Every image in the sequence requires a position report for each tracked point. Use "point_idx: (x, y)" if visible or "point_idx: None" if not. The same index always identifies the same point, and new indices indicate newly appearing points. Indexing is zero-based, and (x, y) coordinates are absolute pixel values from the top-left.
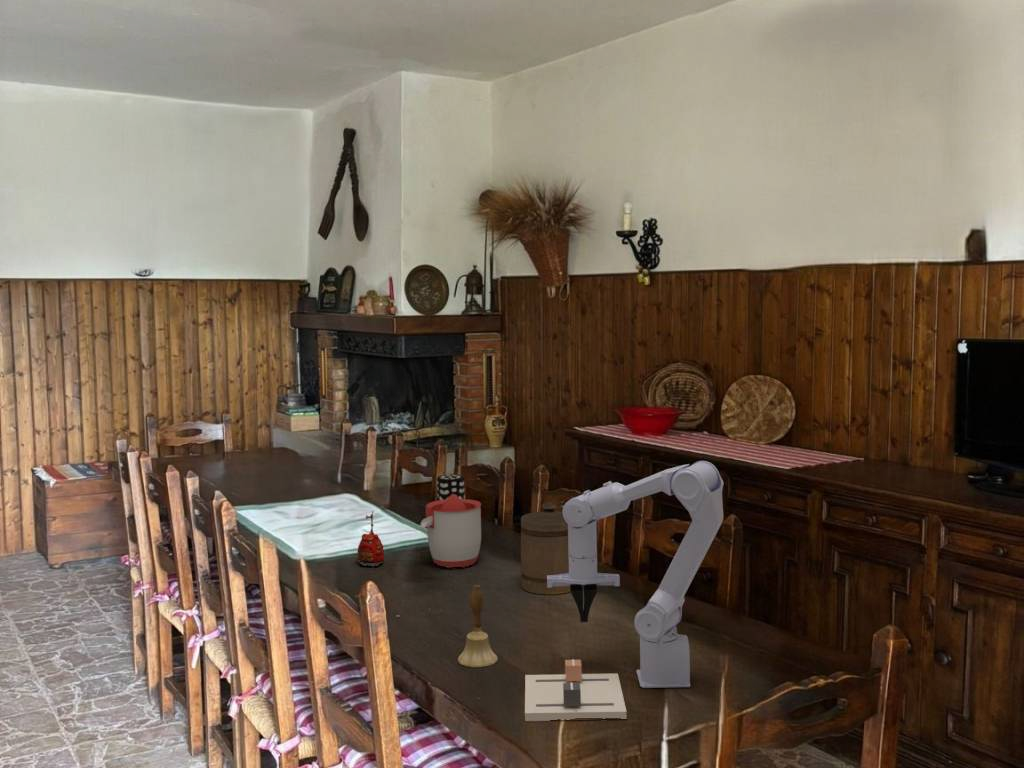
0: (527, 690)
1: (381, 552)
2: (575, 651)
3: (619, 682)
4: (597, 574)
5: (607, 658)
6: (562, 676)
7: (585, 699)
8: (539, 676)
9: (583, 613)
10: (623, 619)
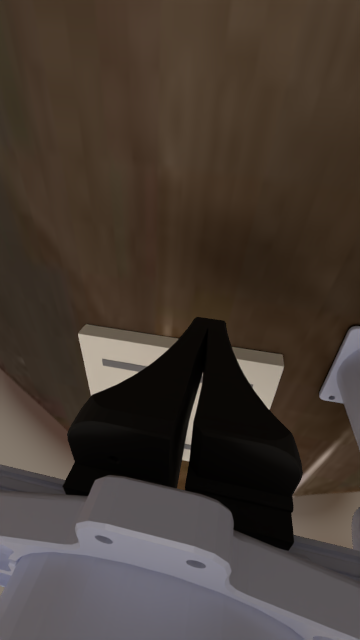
0: (93, 389)
1: None
2: (213, 127)
3: (271, 401)
4: (347, 620)
5: (308, 212)
6: (155, 354)
7: (191, 434)
8: (107, 345)
9: (197, 388)
10: None
